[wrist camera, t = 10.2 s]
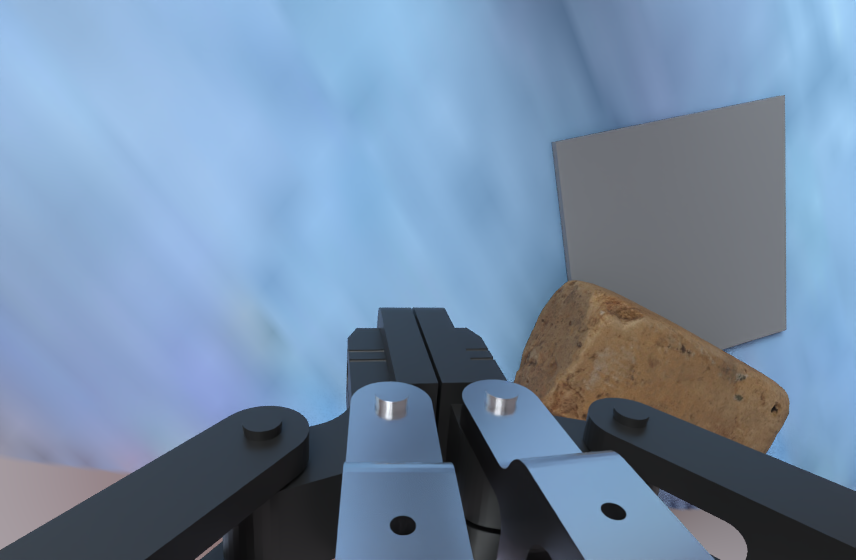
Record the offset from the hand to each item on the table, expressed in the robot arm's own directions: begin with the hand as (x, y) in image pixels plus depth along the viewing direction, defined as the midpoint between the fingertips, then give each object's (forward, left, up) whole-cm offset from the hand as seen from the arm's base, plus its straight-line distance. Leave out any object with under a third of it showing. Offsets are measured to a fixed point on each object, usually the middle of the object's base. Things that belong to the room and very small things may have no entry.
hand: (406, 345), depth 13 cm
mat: (+8, +27, -26) cm, 38 cm away
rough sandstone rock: (+11, +13, -21) cm, 27 cm away
